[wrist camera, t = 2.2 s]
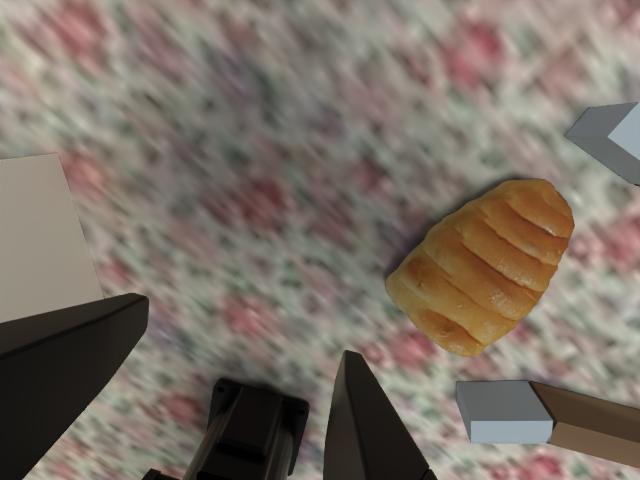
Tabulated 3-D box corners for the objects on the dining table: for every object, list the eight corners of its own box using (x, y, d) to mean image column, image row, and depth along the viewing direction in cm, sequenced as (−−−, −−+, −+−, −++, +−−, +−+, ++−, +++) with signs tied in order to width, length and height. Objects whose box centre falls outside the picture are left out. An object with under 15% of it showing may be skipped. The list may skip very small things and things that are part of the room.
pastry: (488, 145, 17) (524, 149, 13) (591, 221, 18) (652, 245, 14) (374, 283, 20) (378, 317, 16) (466, 345, 21) (489, 391, 17)
